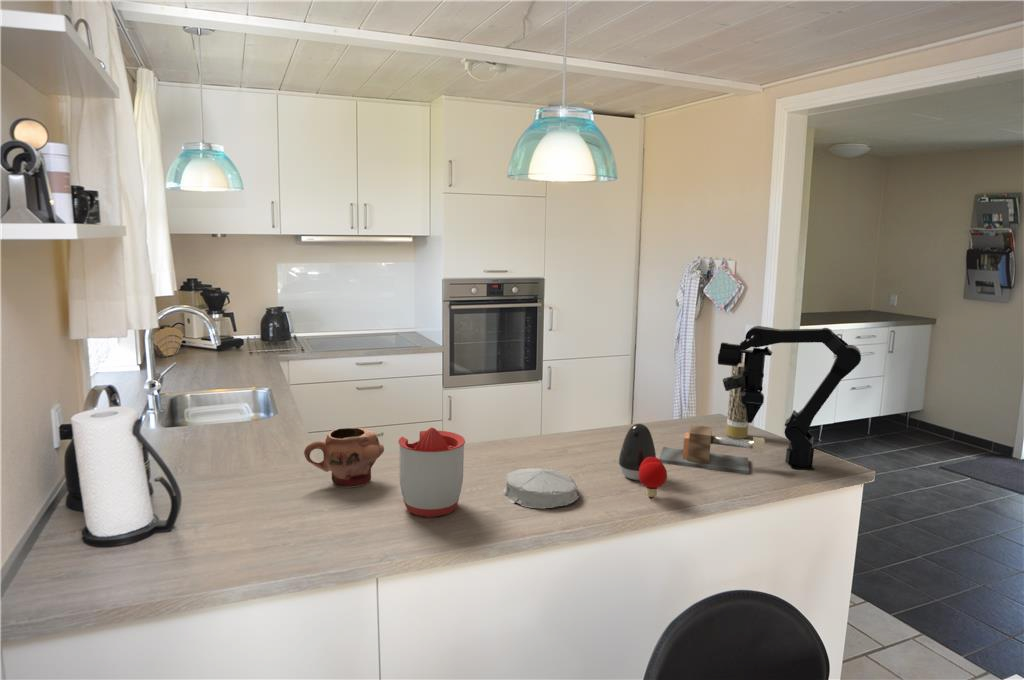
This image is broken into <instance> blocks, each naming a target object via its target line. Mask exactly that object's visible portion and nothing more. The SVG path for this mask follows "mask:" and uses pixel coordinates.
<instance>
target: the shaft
mask: <svg viewBox="0 0 1024 680" xmlns="http://www.w3.org/2000/svg"><path fill="white" fill-rule="evenodd" d="M765 442H766V441H765V438H764V437H757V436H753V437H752V440H751V439H746V438H743V439H737V438H732V437H729V436H727V437H726V436H719V435H718V436H717V435H711V444H712V445H718V446H727V447H735V448H742V449H751V451H752V453H753V454H761V455H762V454H764V453H765V451H764V450H765V444H766V443H765Z"/></svg>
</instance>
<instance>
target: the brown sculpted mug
mask: <svg viewBox="0 0 1024 680" xmlns="http://www.w3.org/2000/svg"><path fill="white" fill-rule="evenodd" d="M314 450H321V451H322V454H323V460H322V461H319V462H315V460H312V458H311V452H312V451H314ZM384 451H385V447H384V445H383V443H381V442H380V440H379V438H378V436H377V434H376V433H375V431H372V430H368V429H365V428H362V427H361V428H360V427H356V428H355V427H353V428H351V427H345V428H336V429H333V430H331V431H330V432H328V433H327V435H326V438H325V439H323V440H315V441H312V442H311V443H309V444H307V445H306V447H305V448H304V451H303V455H304V458H305V459H306V461H307V462H308V463H309V464H311V465H313V466H314V467H315V468H317V469H320V470H322V471H323V472H327V473H328V472H331V482H332V483H333V484H334V485H335V486H336V487H339V488H355V487H362V486H366V485H367V484H369V483H370V482H371V480H372V472H371V471H372V468H373V466H374V464H375V463H376V461H377V460H378V458H379V457H381V456H382V455H383V454H384Z"/></svg>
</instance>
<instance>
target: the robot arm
mask: <svg viewBox="0 0 1024 680" xmlns="http://www.w3.org/2000/svg"><path fill="white" fill-rule="evenodd" d="M744 337H745V339H744V340H742V341H741V342H740V343H739V344H734V343H728V342H720V348H719V351H718V354H717V364H718V365H722V366H730V367H732V366H737V367H738V365H739V363H740V364H742V362H744V369H743V370H742V374H741V375H735V376H731V375H730V376H727V377H724V378H723V379H722V382H723V388H724V390H725V391H726V392H730V390H731V389H735V388H739V387H740V390H741V402H742V403H743V404H744V405H745V406H746V413H747V422H748V423H749V424H752V423H753V421H754V420H755V417H756V415H757V414H758V412H759V411H760V409H761V407H762V406H763V405H764V400H765V396H764V393H763V389H764V388H763V381H764V378H765V373H764V372H765V371H764V370H765V362H766V356H772V355H773V351H771V349H770V348H769V346H772V345H774V344H775V345H776V344H791V343H792V344H796V343H797V344H799V343H800V344H801V343H822V344H823V345H824V346H826V348H827V349H829V351H831V353H832V354H834V355H835V356H836V357H835V359H834V361H833V363H832V366H831V368H830V370H829V372H828V373H827V374H826V376H825V377H824V379H823V380H822V382H820V384H819V385H818V387H817V388H816V389H815V391H814V392H813V394H812V395H811V396H810V398H809V399H808V401H807V402H806V403H805V405H804V407H803V408H801V409H800V410H799V411H798V412H797V411H796V410H795V409H794V410H793V411H792V413H791V415H790V416H789V417H788V418H787V419H786V420H785V422H784V427H785V429H784V436H785V438H786V439H787V440H788V441H789V442H790V443H788V448H786V451H785V452H786V453H785V459H784V462H785V463H786V464H787V465H788V466H789V467H790V468H791V469H796V470H797V469H798V470H815V466H813V463H814V455H815V452H814V451H815V447H814V446H813V442H814V435H812V433H810V431H809V429H810V427H811V425H812V423H813V420H814V418H815V416H817V414H818V413H819V411H820V410H821V409H822V407H823V405H824V404H825V403H826V402H827V400H828V398H829V397H830V396H831V395H832V393H833V392H834V391H835V389H836V388H837V387H838V385H839V384H840V382H841V381H842V380H843V379H844V378H845V377H846V376H847V375H849V374H850V373H851V372H852V371H854V369H855V368H857V366H858V365H860V363H861V361H862V355H861V350H860V349H859V348H858V347H857V346H856V345H853V344H848V343H847V342H846V341H845V340H844V339H842V338H841V337H839V336H838V335H837V334H836V333H835V332H834V331H833V330H832V329H831V328H828V327H823V328H794V329H793V328H789V329H785V328H784V329H779V328H774V327H769V326H763V325H762V326H761V325H755V326H752V327H751V328H750V329H748V331H747V332H746V333H745V336H744ZM760 347H764V348H760ZM750 348H752V349H751V350H749V349H750ZM742 389H743V390H742Z"/></svg>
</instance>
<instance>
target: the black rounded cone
mask: <svg viewBox="0 0 1024 680" xmlns="http://www.w3.org/2000/svg"><path fill="white" fill-rule="evenodd" d="M647 457H656V458H657V454H656V449H655V443H654V438H653V436H652V433H651V431H650V429H649V427H648V426H647V425H645V424H643V423H635V424H633V425H632V426H630V428H629V429H628V430H627V432H626V434H625V437H624V438H623V442H622V445H621V448H620V452H619V456H618V465H619V469H620V471H621V474H622V475H623V476H625V477H626V478H628V479H630V480H633V481H640V480H639V468H640V465H641V463H642V462H643V460H644V459H645V458H647Z"/></svg>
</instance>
